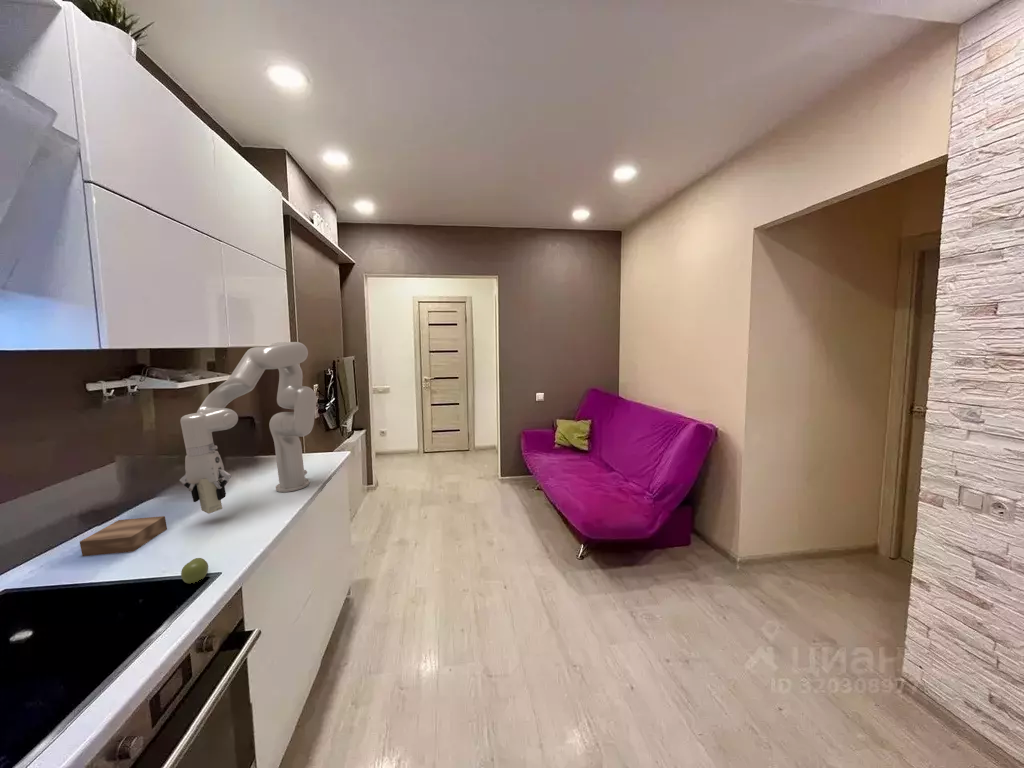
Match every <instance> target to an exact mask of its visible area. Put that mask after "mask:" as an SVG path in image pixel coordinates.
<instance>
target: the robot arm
mask: <svg viewBox="0 0 1024 768" xmlns="http://www.w3.org/2000/svg"><path fill="white" fill-rule="evenodd" d="M308 355H309V350H308V347H307V346H306V345H305V344H304V343H302V342H299V341H288V342H286V341H284V342H282V341H281V342H274V343H272V344H270V345H269V346H256V347H251V348H249V349H247V351H245V353H244V355H243V356H242V358H241V359H240V361H239V362H238V364H236V367H235V368H234V370H233V371H232V372H231V374H230V376H229V377H228V378H227V379H226V380H224V381H223V382H222V383H221V384H220V385H218V386H217V387H216V388H214V390H212V391H211V392H210V393H209V394H208V395H207V396H206V397H205V399H204V400H203V401H202V403H201V405H200V406H199V407H198V409H197V411H196V412H195V413H189V414H185V415H182V417H180V419H179V420H180V426H181V427H180V428H181V431H182V432H181V433H182V437H183V441H184V447H185V452H186V455H185V459H184V461H185V462H184V467H185V470H184V471H185V474H184V475H183V476H182V477H181V478H180V479H179V482H180V483H181V484H183V485H184V487H185V488H187V489H188V491H189V492H191V493H190V494H191V497H192V501H193V503H197V502H198V501H200V500H199V495H198V490H197V486H196V484H199V483H200V482H199V479H204V478H206V479H208V481H209V482H210V483H214V484H215V485H216V487H217V488H218V489H216V492H217V497H218V500H221V501H222V500H223V499H224V498H225V497H226V496H227V495H226V494H227V493H226V488H225V487H226V485H227V483H229V481H230V479H231V478H232V477H233V476H232V474H231V473H229V472H228V471H227V470H226V469H225V466H224V463H223V460H222V457H221V454H220V453H219V451H218V445H215V442H214V438H213V432H219V431H226V430H230V429H232V428H233V427H235V426H236V425H237V423H238V421H239V416H238V414H237V412H236V411H235V410H233V409H231V408H226V407H227V405H229V403H231V402H233V400H235V399H237V398H239V397H241V396H244V395H246V394H248V393H250V392H252V391H253V390H254V389H255V387H256V386H257V383H258V382H259V380H260V379H261V377H262V376H263V374H264V372H265V371H266V370H278V372H279V374H278V375H279V379H278V380H279V381H278V385H277V386H278V387H277V394H276V403H277V406H279V407H281V408H282V409H286V410H287V409H289V410H293V411H280V412H277V413H275V414H273V415H272V416H271V418H270V420H269V424H268V425H269V431H270V434H271V436H272V439H273V442H274V443H273V444H274V450H275V451H274V452H275V460H276V467H277V475H278V476H277V477H278V484H277V485H275V491H277V492H278V493H289V492H296V491H300V490H301V489H304V488H306V487H308V486H309V485H310V479H308V478H306V475H307V474H308V471H307V469H305V468H304V457H303V450H302V448H303V447H302V442H301V438H300V437H303V438H304V437H306V436H308V435H310V433H311V432H312V430H313V428H314V424H315V419H316V418H315V417H316V410H317V409H316V408H317V394H316V392H315V391H314V390H313V388H311V387H310V386H305V385H303V378H304V377H303V370H302V368H301V365H300V364H301V363H304V362H305V361H306V360H307V358H308Z"/></svg>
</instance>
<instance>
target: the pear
mask: <svg viewBox="0 0 1024 768" xmlns="http://www.w3.org/2000/svg"><path fill="white" fill-rule="evenodd" d="M208 571H209V564H208V562H207V561H206V559H204V558H202V557H197V558H194V559H192V560H190V561H189V562H187V563H186V564H185V565H183V567H182V569H181V571H180V576H181V580H182V581H183V582H184V583H186V584H189V585H191V583H193V584H196V583H195V582H197V583H199V582H200V581H199V580H201V579H202V580H204V578H205V577H206V576H207V573H208ZM202 580H201V581H202ZM198 581H199V582H198Z"/></svg>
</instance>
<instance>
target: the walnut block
mask: <svg viewBox="0 0 1024 768" xmlns="http://www.w3.org/2000/svg"><path fill="white" fill-rule="evenodd" d="M166 530H168V526H167V519H166V515H165V516H164V515H161V516H151V517H150V516H149V517H139V518H138V517H137V518H128V519H118V520H116V521H114V522H113V523H111V524H109V525H108V526H106V527H104V528H102V529H100V530H98V531H96V532H94V533H93V534H90V535H89V536H87V537H86V538H83V539H82V540H80V541H79V546H80V551H81V555H82V556H81V557H88V556H89V557H90V556H98V555H99V556H100V555H110V554H121V553H122V554H123V553H132V552H133V553H134V552H135V551H137V550H139V548H141V547H143V546H144V545H146V544H147V543H149V542H150V541H152V540H153V539H155V538H156V537H157V536H159V535H161V534H162V533H164V532H165V531H166Z"/></svg>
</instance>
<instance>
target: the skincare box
mask: <svg viewBox="0 0 1024 768" xmlns="http://www.w3.org/2000/svg"><path fill="white" fill-rule="evenodd" d="M199 482H200V483H199V484H196V486H197V490H198V495H199V500H198V501H199V503H200V508H201V511H202V512H204V513H206V514H211V513H214V512H215V513H216V512H217V511H220V510H222V509H223V506H222V505H223V503H222V499H221V500H218V497H217V492H216V489H218V488H217V487H216V485H215V484H214V483H210V482H209V481H208V479H206V478H204V479H199Z"/></svg>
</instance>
